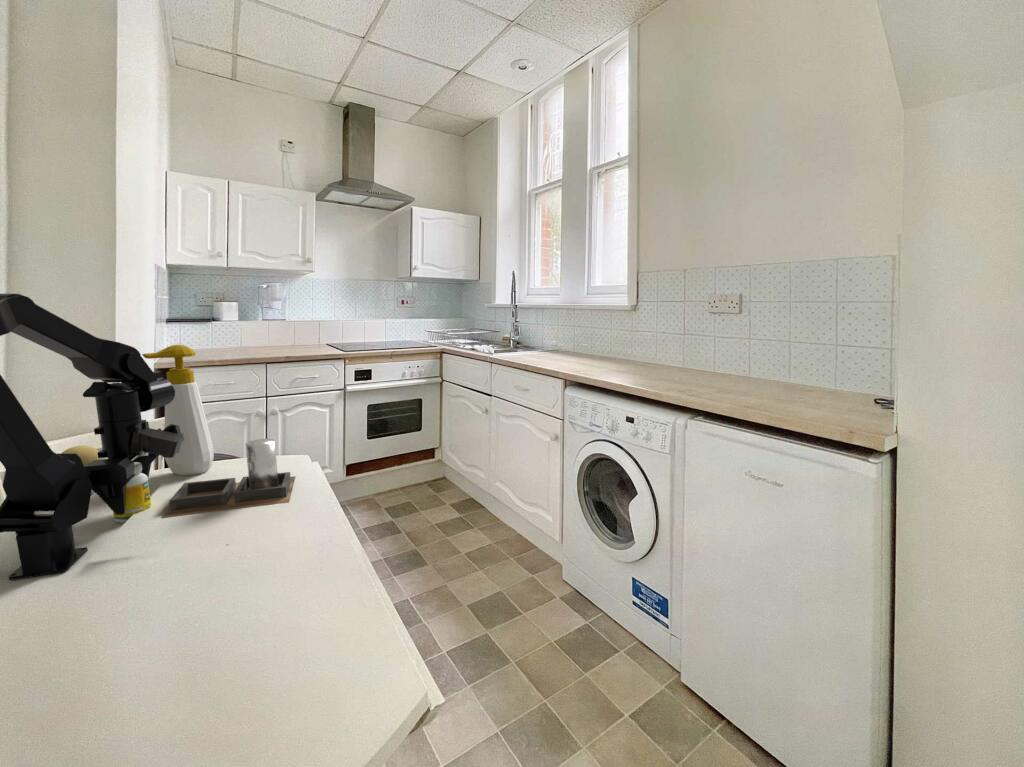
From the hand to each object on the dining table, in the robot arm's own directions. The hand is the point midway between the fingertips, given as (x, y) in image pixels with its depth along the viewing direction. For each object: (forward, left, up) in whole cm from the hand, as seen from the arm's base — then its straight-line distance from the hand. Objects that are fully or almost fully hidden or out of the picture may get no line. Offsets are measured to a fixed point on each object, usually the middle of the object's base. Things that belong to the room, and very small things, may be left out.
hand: (131, 503), depth 84 cm
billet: (+1, -21, -1) cm, 21 cm away
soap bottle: (+20, -3, -3) cm, 20 cm away
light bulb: (+15, +13, -3) cm, 20 cm away
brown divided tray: (+1, -16, -2) cm, 16 cm away
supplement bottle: (0, 0, -3) cm, 3 cm away
